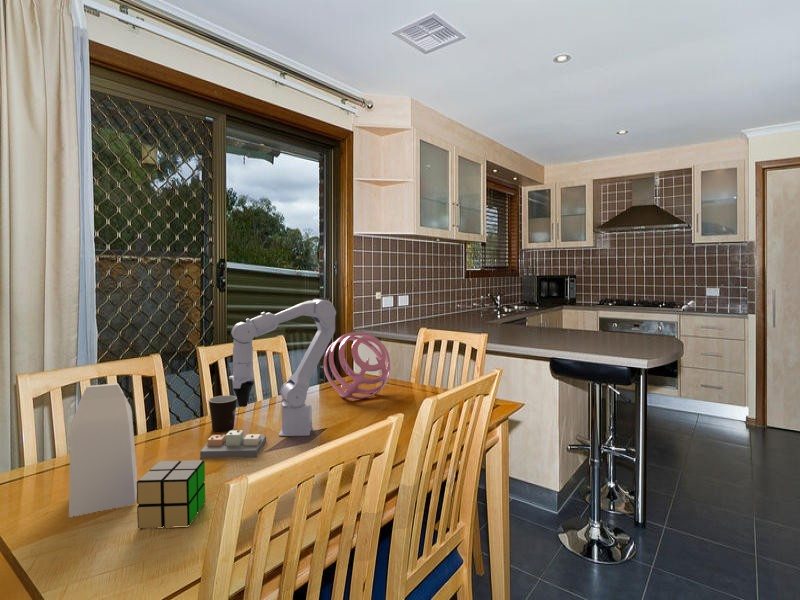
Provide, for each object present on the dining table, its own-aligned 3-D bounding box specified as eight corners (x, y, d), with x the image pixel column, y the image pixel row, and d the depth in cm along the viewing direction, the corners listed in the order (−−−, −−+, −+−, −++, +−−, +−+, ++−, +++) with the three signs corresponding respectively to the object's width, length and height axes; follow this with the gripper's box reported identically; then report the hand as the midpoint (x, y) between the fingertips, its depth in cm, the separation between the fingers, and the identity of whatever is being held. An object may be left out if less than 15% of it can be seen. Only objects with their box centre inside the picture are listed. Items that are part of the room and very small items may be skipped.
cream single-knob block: (260, 445, 135) (260, 433, 135) (257, 450, 131) (257, 438, 131) (247, 445, 135) (247, 433, 134) (243, 450, 131) (243, 438, 131)
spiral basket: (315, 344, 202) (338, 314, 183) (372, 355, 214) (400, 328, 195) (311, 405, 187) (337, 378, 167) (373, 413, 199) (404, 389, 179)
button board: (266, 441, 139) (266, 435, 139) (256, 457, 127) (256, 450, 127) (214, 442, 138) (214, 435, 138) (200, 458, 126) (200, 451, 126)
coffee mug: (226, 435, 144) (225, 403, 144) (203, 432, 147) (202, 401, 146) (247, 423, 155) (247, 394, 155) (226, 421, 158) (225, 392, 157)
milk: (68, 517, 95) (64, 394, 94) (77, 493, 106) (74, 382, 104) (135, 504, 101) (132, 388, 99) (137, 483, 111) (135, 377, 110)
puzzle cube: (159, 504, 101) (158, 460, 101) (205, 503, 102) (205, 459, 101) (136, 530, 91) (135, 481, 91) (189, 528, 92) (188, 479, 91)
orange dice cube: (225, 446, 134) (225, 434, 134) (221, 451, 130) (221, 438, 130) (212, 446, 134) (212, 434, 134) (208, 451, 130) (207, 438, 130)
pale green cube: (243, 441, 134) (243, 429, 134) (239, 446, 131) (239, 434, 130) (229, 441, 134) (229, 429, 134) (226, 446, 130) (225, 434, 130)
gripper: (236, 357, 146) (236, 399, 147) (221, 366, 132) (222, 413, 132) (258, 357, 147) (259, 399, 147) (247, 366, 132) (247, 413, 133)
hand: (243, 406), depth 140 cm, fingers closed
